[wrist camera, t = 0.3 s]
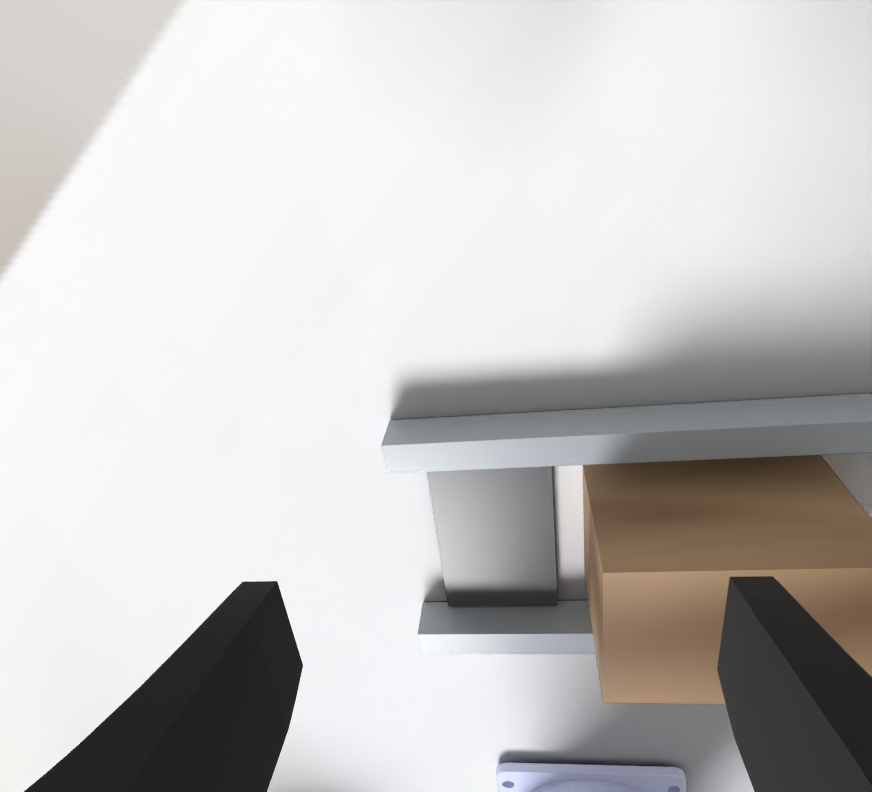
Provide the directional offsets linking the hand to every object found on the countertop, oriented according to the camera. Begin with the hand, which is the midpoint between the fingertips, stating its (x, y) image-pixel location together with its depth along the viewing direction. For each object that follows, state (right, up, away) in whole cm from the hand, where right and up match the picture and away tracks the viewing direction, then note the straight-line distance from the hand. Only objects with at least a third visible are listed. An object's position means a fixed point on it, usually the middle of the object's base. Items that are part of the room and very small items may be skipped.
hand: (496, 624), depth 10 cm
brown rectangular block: (+8, 0, +10) cm, 13 cm away
